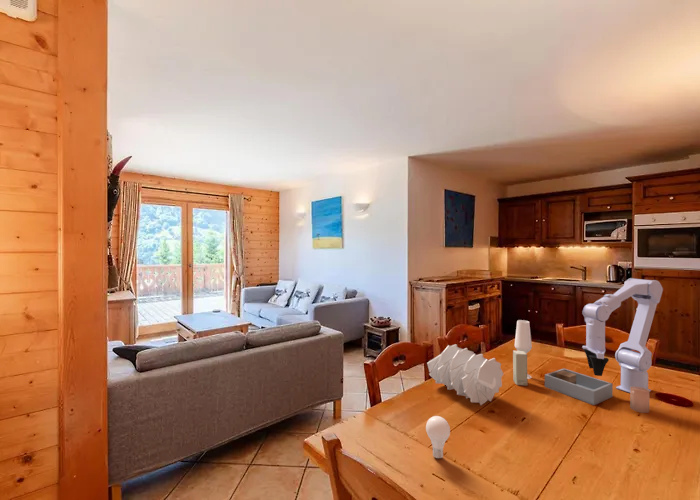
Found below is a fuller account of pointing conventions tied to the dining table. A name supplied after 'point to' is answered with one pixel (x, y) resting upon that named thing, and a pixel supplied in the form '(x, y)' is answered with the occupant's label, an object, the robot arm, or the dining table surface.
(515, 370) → the box
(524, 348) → the champagne flute
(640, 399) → the peach capsule
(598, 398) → the tote
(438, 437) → the lightbulb
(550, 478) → the dining table surface
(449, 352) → the spiral staircase
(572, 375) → the walnut cube
